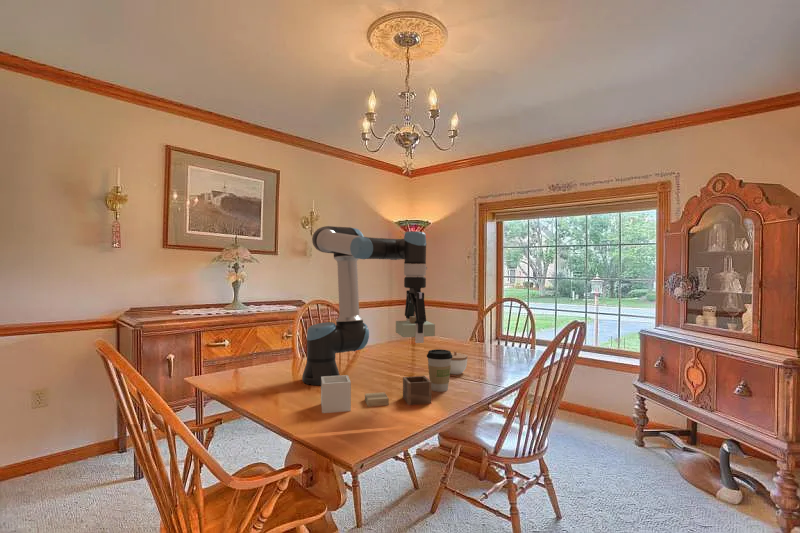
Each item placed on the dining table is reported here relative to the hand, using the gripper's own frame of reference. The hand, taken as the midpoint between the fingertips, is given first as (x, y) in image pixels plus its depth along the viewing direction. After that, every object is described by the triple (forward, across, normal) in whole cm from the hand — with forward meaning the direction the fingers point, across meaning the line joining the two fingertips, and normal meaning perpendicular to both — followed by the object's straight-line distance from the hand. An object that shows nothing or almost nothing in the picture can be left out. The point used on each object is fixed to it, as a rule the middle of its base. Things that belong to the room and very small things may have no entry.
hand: (414, 339), depth 143 cm
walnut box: (+22, 0, -1) cm, 22 cm away
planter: (+22, -1, +27) cm, 35 cm away
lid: (-2, 0, 0) cm, 2 cm away
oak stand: (+22, +1, +13) cm, 26 cm away
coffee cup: (+22, +11, -13) cm, 28 cm away
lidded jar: (+22, +35, -29) cm, 51 cm away
